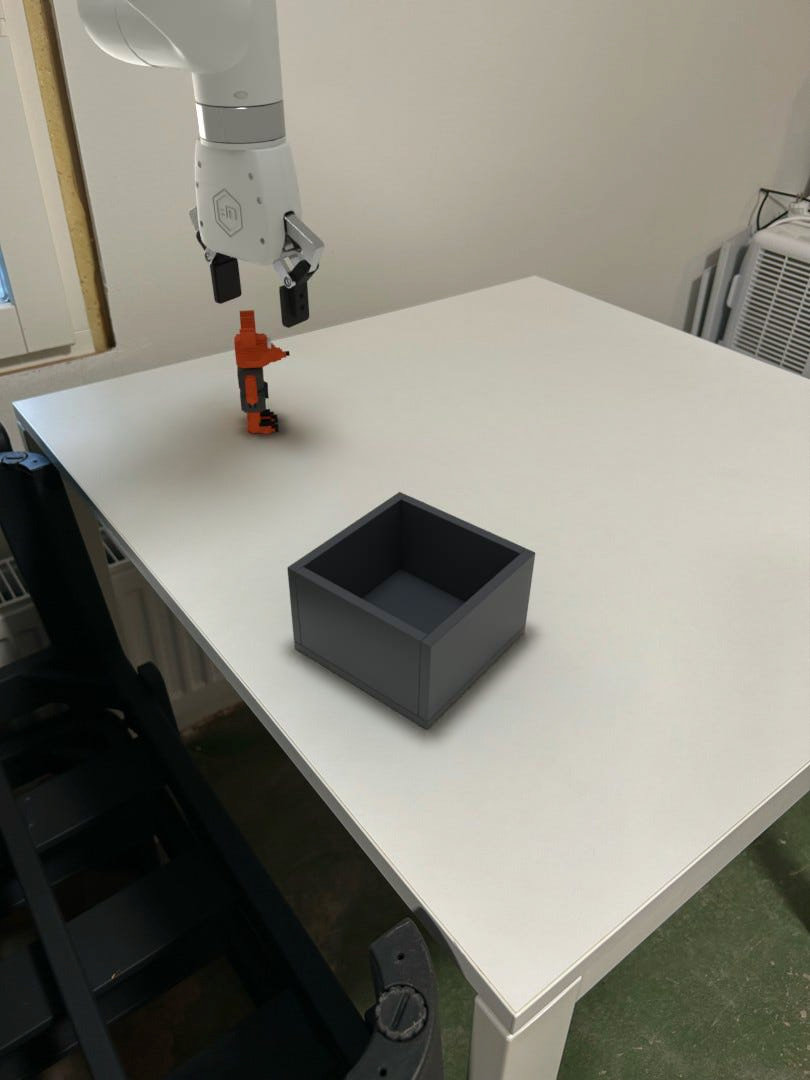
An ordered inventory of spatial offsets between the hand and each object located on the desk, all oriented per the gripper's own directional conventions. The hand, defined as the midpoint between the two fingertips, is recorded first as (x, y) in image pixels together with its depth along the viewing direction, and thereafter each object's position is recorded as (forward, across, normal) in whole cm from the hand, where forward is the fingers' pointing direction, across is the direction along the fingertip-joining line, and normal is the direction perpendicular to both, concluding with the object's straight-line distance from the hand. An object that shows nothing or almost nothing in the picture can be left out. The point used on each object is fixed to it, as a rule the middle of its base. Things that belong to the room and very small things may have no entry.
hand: (261, 311), depth 83 cm
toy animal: (+13, 0, 0) cm, 13 cm away
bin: (+12, +33, -18) cm, 39 cm away
